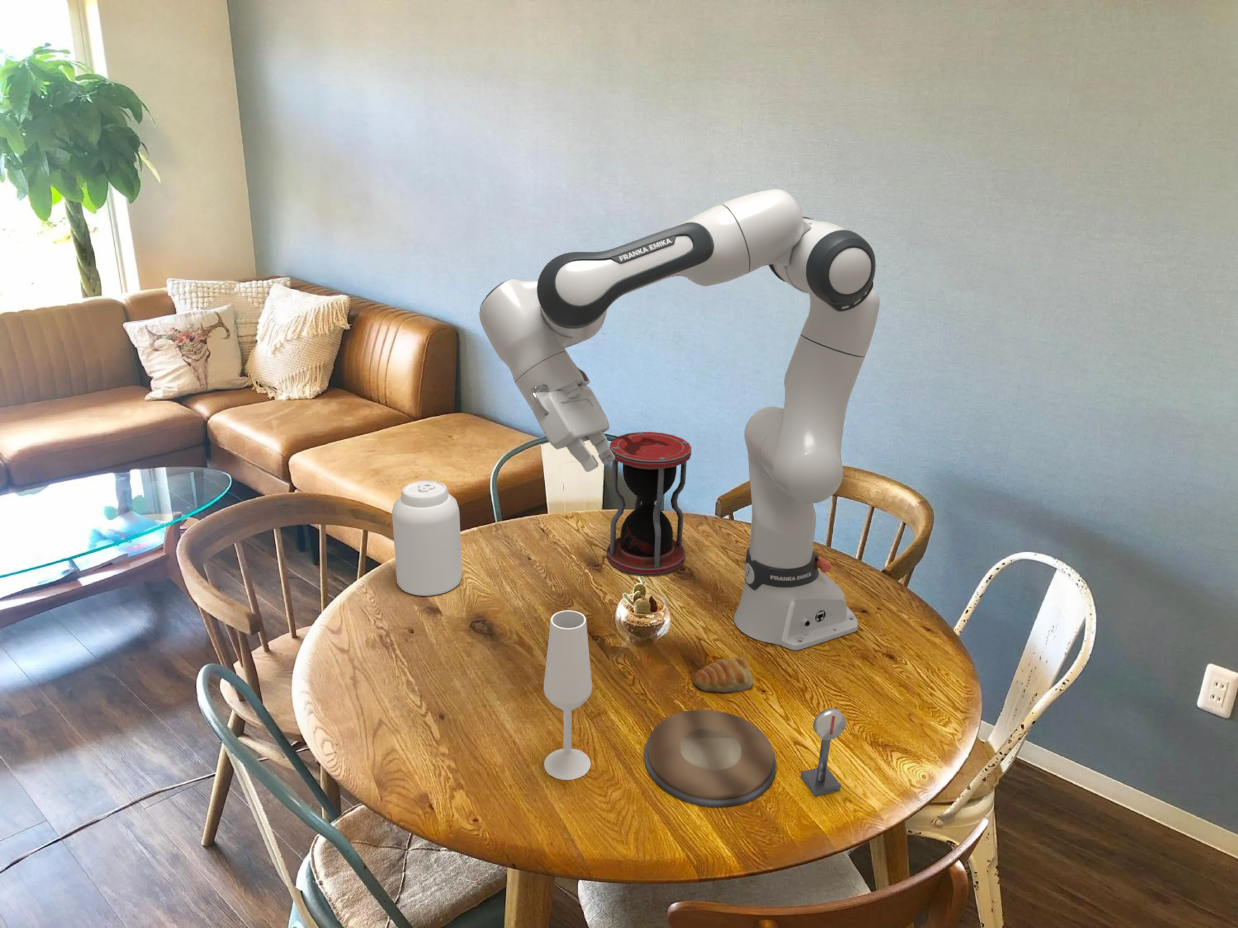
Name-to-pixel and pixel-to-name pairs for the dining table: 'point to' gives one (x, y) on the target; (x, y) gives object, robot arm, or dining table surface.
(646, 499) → the hourglass
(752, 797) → the turntable
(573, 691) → the champagne flute
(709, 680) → the pastry
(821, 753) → the dial gauge
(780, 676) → the dining table surface
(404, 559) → the can
